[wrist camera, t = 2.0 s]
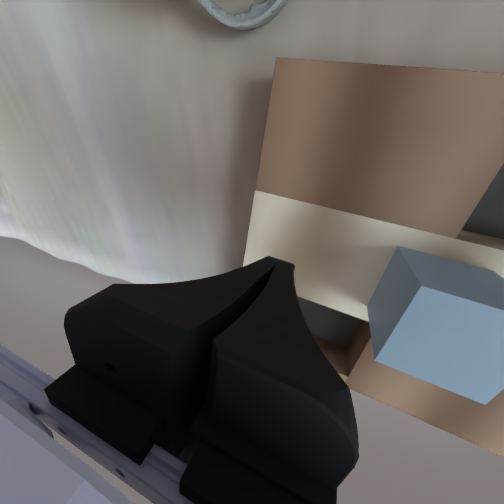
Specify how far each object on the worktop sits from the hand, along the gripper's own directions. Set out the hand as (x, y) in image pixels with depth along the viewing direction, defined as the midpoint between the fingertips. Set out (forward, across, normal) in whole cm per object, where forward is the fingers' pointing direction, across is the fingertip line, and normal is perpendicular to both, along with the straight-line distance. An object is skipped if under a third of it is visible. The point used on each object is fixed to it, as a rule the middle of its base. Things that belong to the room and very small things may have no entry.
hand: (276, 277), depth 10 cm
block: (+3, -7, 0) cm, 8 cm away
